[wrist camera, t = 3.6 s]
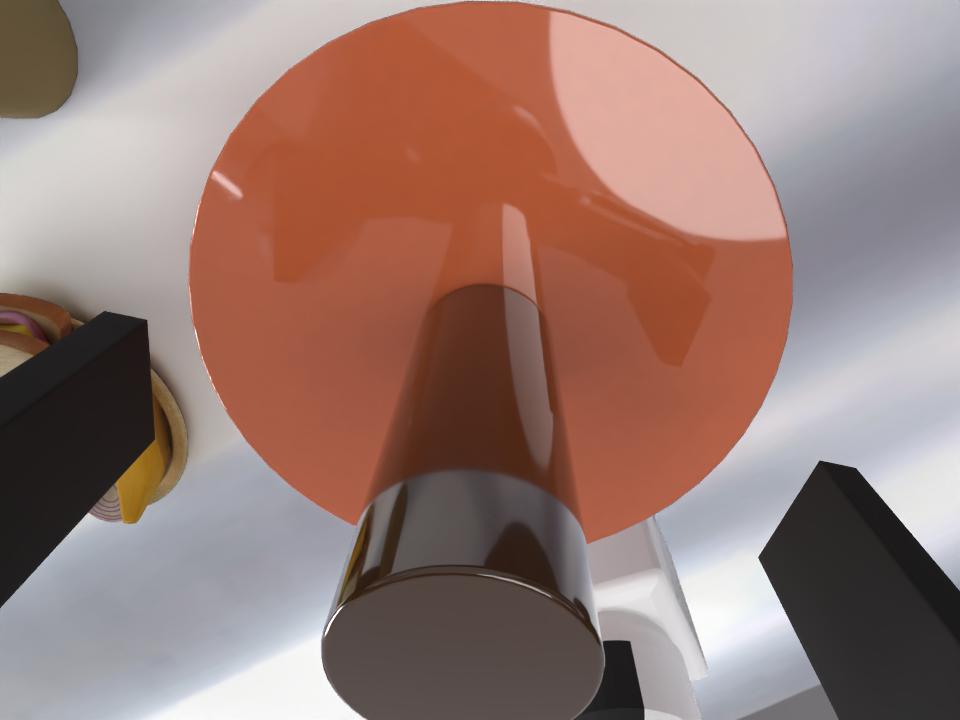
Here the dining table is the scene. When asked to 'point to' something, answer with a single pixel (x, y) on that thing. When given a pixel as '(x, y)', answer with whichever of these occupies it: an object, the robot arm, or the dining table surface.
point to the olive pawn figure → (35, 58)
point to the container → (643, 630)
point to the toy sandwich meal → (38, 324)
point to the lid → (486, 330)
